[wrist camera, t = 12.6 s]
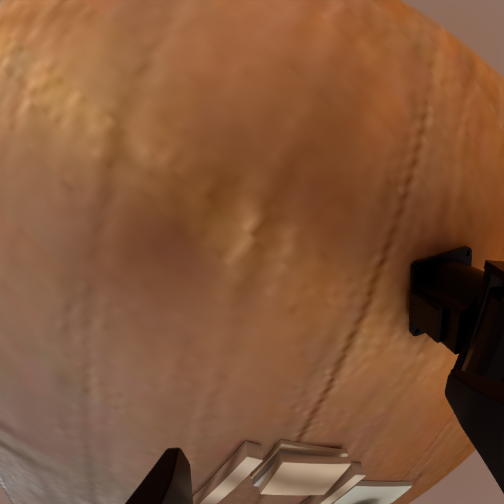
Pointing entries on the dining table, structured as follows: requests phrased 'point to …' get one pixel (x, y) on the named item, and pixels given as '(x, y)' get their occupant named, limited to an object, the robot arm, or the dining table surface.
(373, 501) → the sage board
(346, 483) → the birch rack
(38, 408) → the dining table surface
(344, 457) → the offcut stack
